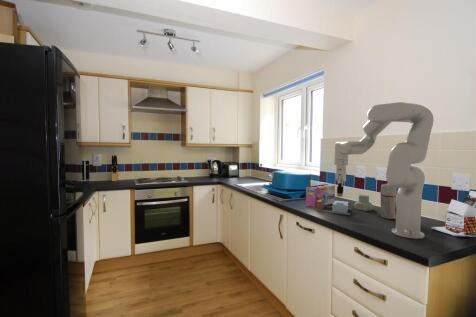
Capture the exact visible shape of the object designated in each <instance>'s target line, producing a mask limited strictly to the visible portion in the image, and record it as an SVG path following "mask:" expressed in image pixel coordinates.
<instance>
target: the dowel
mask: <svg viewBox="0 0 476 317" xmlns="http://www.w3.org/2000/svg"><path fill="white" fill-rule="evenodd" d="M341 182H342V181H341ZM342 187H343V188H344V184H343V185H342ZM336 193H337V192H336ZM343 193H344V192H343ZM343 193H342V194H340V193H337V194H336V195H337V196H336V197H339V198H340V197H343Z"/></svg>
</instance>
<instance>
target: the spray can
mask: <svg viewBox="0 0 476 317" xmlns="http://www.w3.org/2000/svg"><path fill="white" fill-rule="evenodd" d="M397 189H398V188H395V187H392V186H390V185H389V184H388V182H387V183H385V184H381V186H380V217H381V218H383V219H387V220H389V219H390V220H396V205H397V192H398V190H397Z"/></svg>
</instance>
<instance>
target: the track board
mask: <svg viewBox="0 0 476 317" xmlns="http://www.w3.org/2000/svg"><path fill="white" fill-rule="evenodd" d="M324 208H327V209H328V208H330V209H331V208H332V205H324ZM352 210H353V208H351V207H350V208H349V207H348V211H352ZM321 212H322V213H329V214H330V213H332V214H339V215H349V216H350V215H351V212H347V213H344V212H335V211H332V210H325V209H322V210H321Z"/></svg>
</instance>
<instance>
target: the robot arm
mask: <svg viewBox="0 0 476 317" xmlns="http://www.w3.org/2000/svg"><path fill="white" fill-rule="evenodd" d="M366 114H367V116H366V117H367V119H368V120H367V121H366V122H365V123H364V125H363V126H362V130H363V132H364V133H365V135H364V136H363V137H362V138H361V139H360V140H359V141H356V140H354V141H351V140H350V141H336V142H335V143H334V161H333V162H334V165H335V168H336V169H335V181H336V182H337V184H336V186H337V187H336V193H340V194H342V193H344V183H345V182H346V181H347V166H348V165H349V156H351V155H353V156H354V155H363V154H365V153H367V152H368V150H370V149H371V148H372V147H373V146H374V145H375V143H376V140H377V137H378V136H379V134H381V133H382V132H383V131H384V130H385V129H386V128H387V127H389V125H390V124H392V123H393V122H394V123H395V122H396V123H399V122H400V123H409V124H411V125H410V126H409V128H408V130H407V133H406V138H405V141H404V142H399V143H397V144H395V145H394V146H393V147H392V148H391V150H390V152H389V156H388V163H387V167H386V173H385V179H386V182H387V183H388V184H389V185H390V186H392V187H395V188H396V189H398V190H397V192H396V195H397V199H396V203H397V204H396V219H395V227H393V228H391V233H393V235H395V236H399V237H402V238H407V239H414V240H415V239H416V240H417V239H418V240H419V239H424V238H425V233H424V232H422V231H421V225H422V224H421V223H422V222H421V221H422V220H421V219H422V201H423V200H422V199H423V189H424V186H425V181H426V177H425V176H426V174H425V172H424V171H423V170H422V169H421V168H419V167H417V166H414V165H416V164H420V163H423V161H425V159H426V157H427V152H428V148H429V144H430V143H429V142H430V138H431V133H432V129H433V126H434V121H435V120H434V115H433V113H432V111H431V110H430V109H429V108H427V107H426V106H424V105H421V104H417V103H413V102H411V103H409V102H397V101H396V102H390V103H383V104H382V103H381V104H379V103H378V104H375V105H373V106H372V107H370V108H369V109H368V111H367V113H366ZM413 164H414V165H413ZM341 181H342V182H341ZM342 185H343V187H342Z"/></svg>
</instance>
